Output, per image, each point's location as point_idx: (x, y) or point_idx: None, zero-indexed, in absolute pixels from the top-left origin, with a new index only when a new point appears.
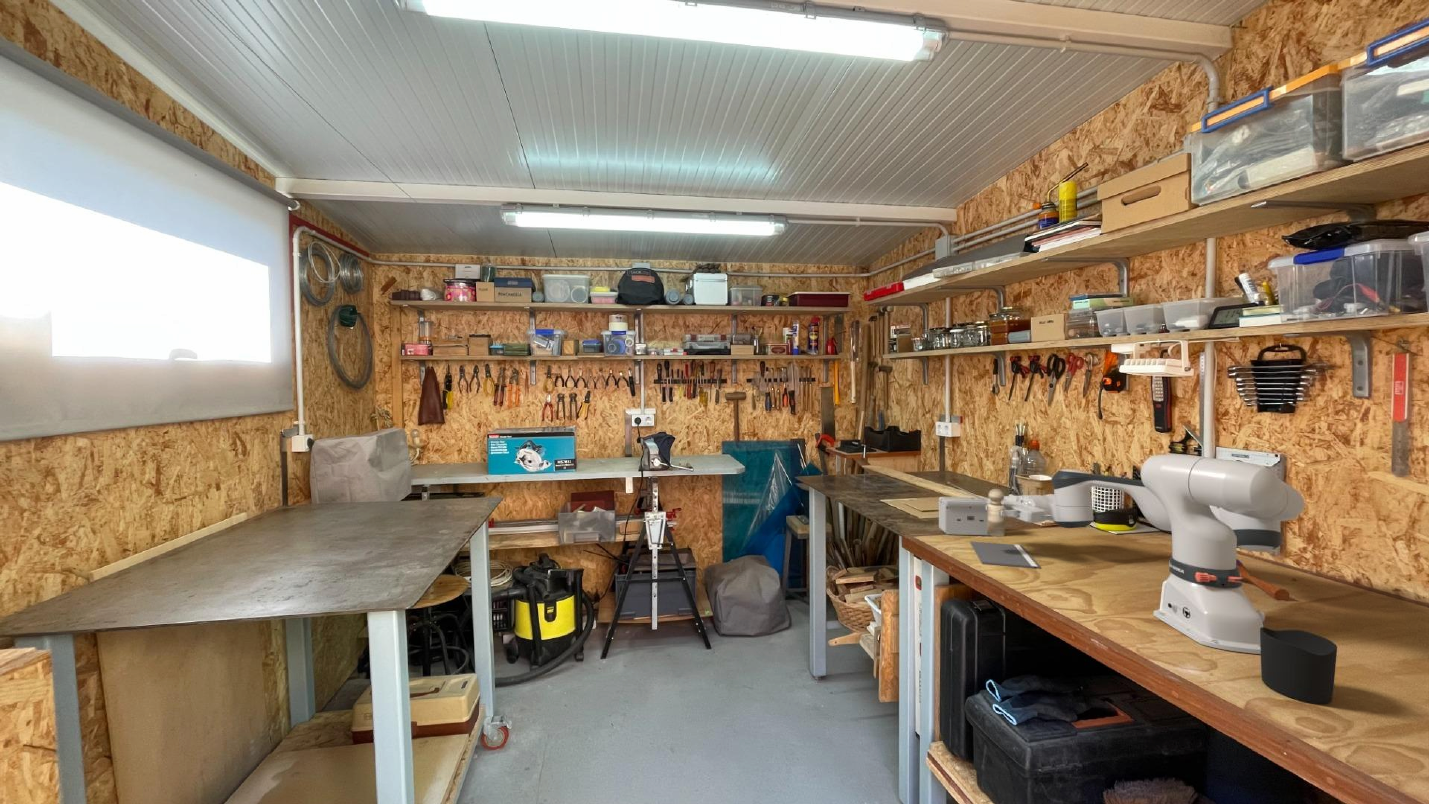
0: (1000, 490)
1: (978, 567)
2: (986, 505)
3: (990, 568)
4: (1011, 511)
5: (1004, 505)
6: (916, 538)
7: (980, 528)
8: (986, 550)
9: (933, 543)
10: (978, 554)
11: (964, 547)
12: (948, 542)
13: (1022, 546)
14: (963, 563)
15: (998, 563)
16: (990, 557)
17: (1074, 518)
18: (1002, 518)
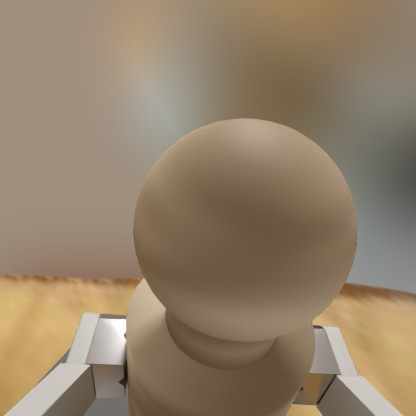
0: (205, 159)
1: (70, 299)
2: (338, 329)
3: (38, 329)
4: (19, 409)
5: (158, 383)
6: (398, 299)
7: None
8: None
9: (344, 317)
10: None
11: (301, 405)
12: (371, 380)
13: None
14: (123, 282)
15: (42, 379)
16: (119, 402)
17: None
18: (128, 401)
